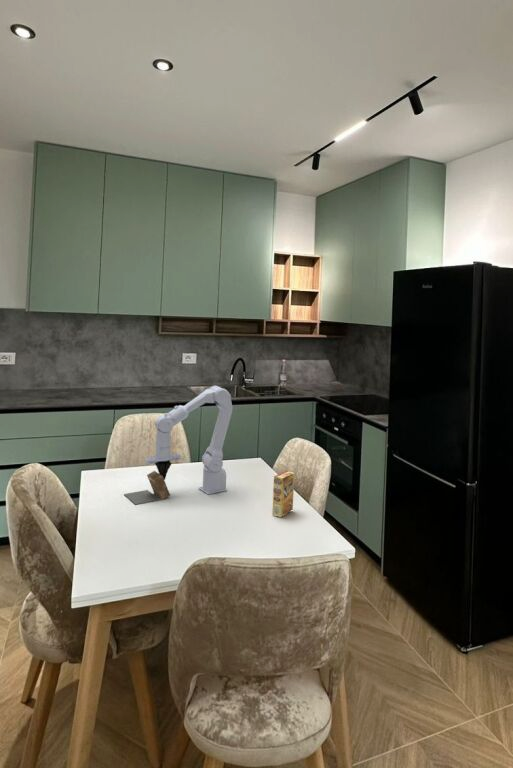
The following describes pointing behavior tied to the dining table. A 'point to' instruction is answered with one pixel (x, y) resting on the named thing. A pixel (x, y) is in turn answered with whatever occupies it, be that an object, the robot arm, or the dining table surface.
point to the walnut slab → (158, 485)
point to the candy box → (283, 493)
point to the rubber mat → (141, 497)
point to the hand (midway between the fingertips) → (162, 479)
